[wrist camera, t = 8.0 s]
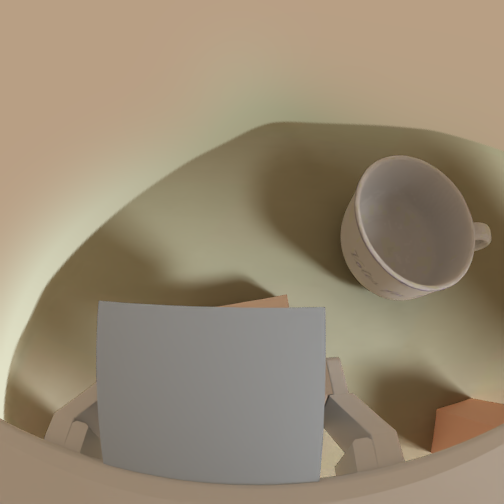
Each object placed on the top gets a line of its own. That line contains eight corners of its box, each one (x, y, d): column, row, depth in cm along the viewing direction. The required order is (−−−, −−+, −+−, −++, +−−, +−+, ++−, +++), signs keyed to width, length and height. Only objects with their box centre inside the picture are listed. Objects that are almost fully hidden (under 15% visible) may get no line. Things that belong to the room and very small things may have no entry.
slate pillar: (188, 322, 16) (98, 300, 6) (281, 324, 16) (325, 307, 6) (188, 410, 14) (108, 492, 5) (280, 413, 14) (315, 510, 5)
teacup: (317, 287, 25) (343, 266, 17) (341, 181, 28) (365, 132, 20) (445, 322, 24) (498, 314, 16) (454, 223, 27) (498, 193, 19)
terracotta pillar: (436, 409, 21) (502, 428, 12) (471, 398, 21) (536, 408, 12) (430, 452, 20) (488, 483, 10) (465, 439, 20) (525, 460, 10)
